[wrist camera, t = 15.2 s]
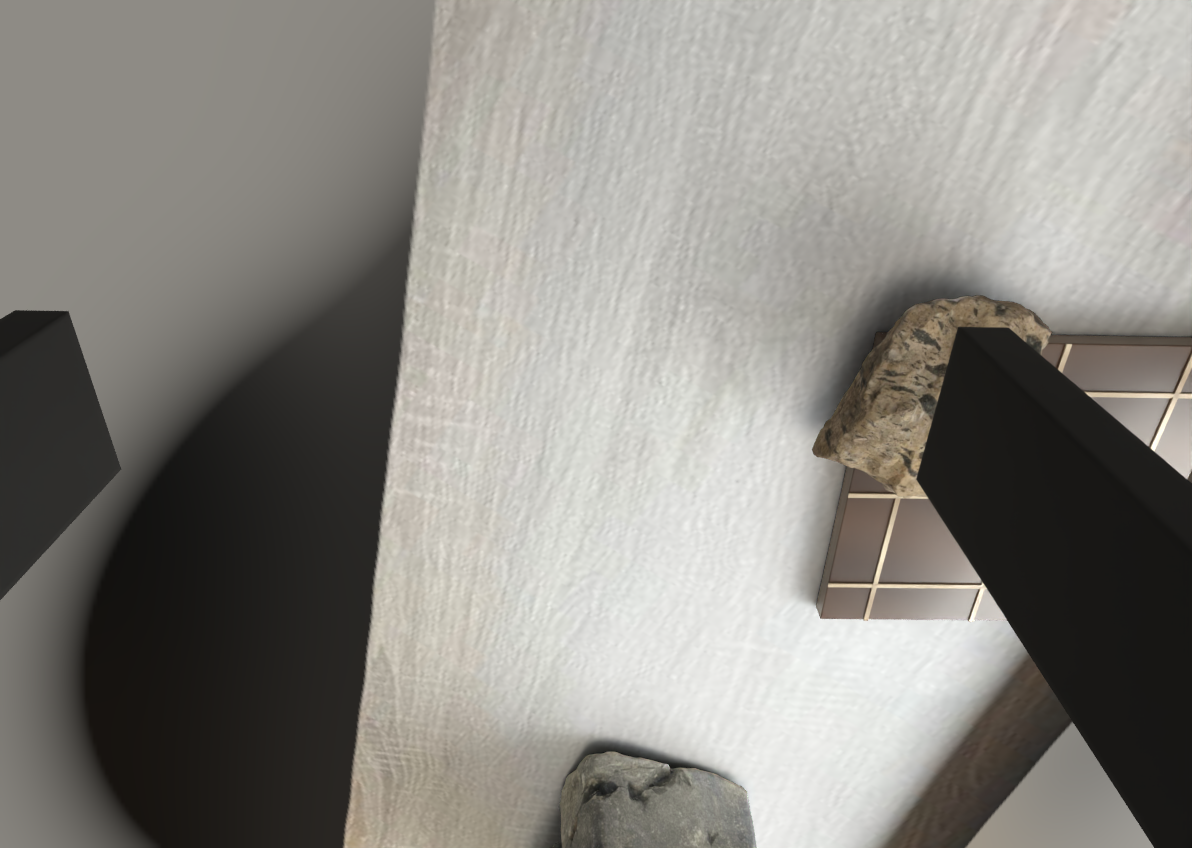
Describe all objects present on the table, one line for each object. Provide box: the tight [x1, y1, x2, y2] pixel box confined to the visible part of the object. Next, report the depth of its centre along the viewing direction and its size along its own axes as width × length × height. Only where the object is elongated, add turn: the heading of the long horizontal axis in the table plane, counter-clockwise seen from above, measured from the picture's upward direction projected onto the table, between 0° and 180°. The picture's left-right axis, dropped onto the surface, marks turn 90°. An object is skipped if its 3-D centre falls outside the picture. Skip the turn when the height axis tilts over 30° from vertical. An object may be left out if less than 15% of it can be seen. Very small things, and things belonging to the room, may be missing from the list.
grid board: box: [816, 332, 1192, 622], centre depth 47 cm, size 20×20×1 cm
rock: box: [812, 295, 1052, 499], centre depth 41 cm, size 11×12×4 cm
